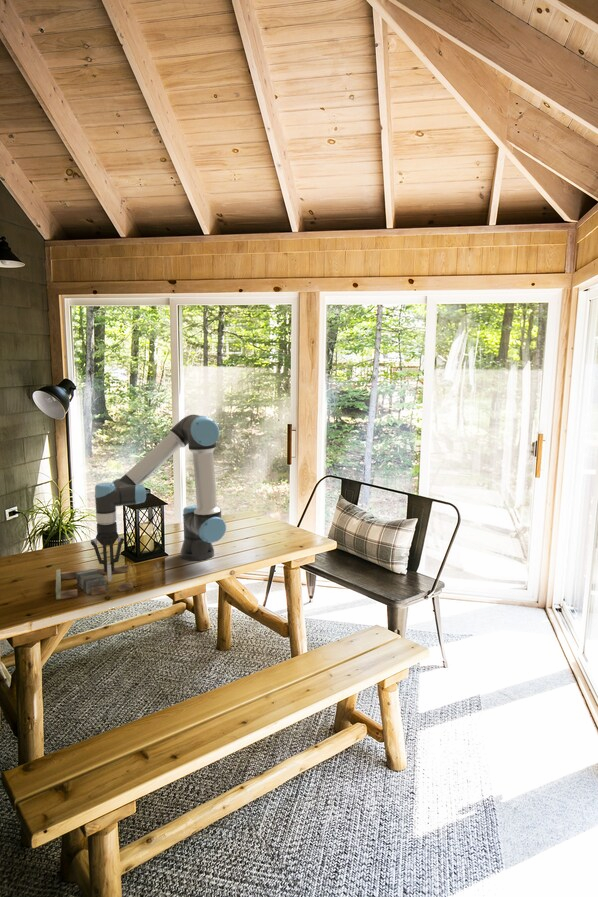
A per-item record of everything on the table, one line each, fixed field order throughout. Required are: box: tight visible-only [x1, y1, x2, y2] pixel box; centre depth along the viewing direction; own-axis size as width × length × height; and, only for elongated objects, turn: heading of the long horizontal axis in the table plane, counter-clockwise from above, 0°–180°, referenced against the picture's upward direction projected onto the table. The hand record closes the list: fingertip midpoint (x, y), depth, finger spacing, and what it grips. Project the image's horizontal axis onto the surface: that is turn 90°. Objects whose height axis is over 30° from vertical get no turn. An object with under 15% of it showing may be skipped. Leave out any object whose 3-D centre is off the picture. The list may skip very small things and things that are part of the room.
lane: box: [55, 564, 133, 600], centre depth 243 cm, size 28×23×4 cm
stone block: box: [76, 570, 109, 595], centre depth 241 cm, size 9×14×5 cm, turn 34°
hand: (109, 579), depth 245 cm, fingers closed
